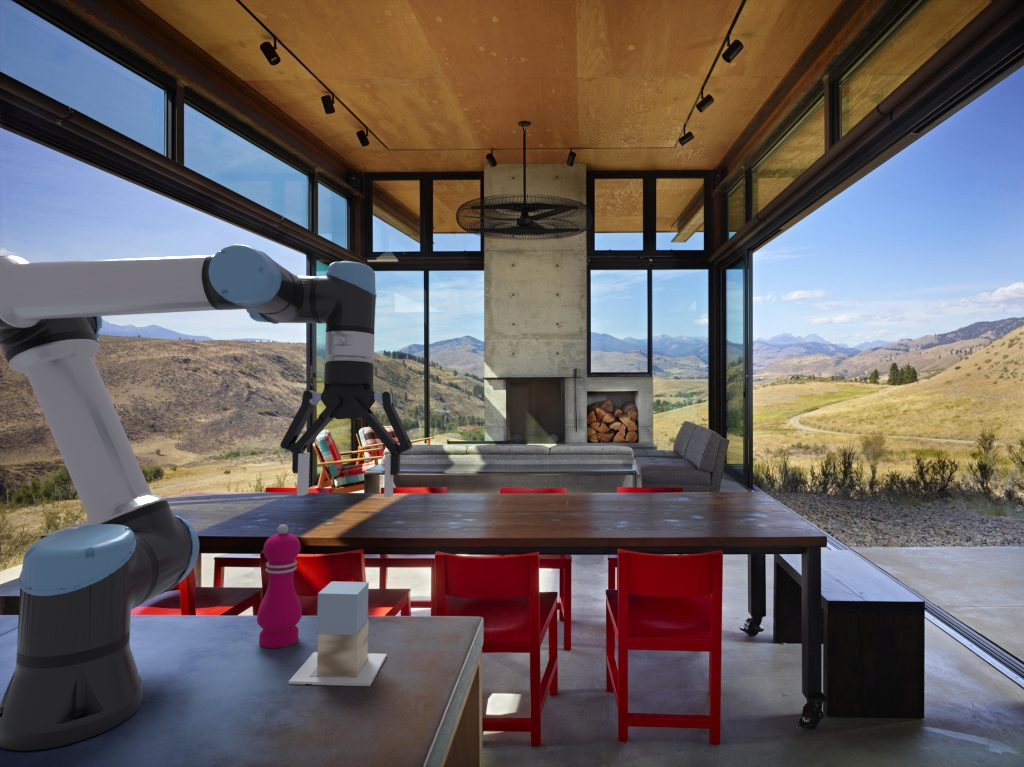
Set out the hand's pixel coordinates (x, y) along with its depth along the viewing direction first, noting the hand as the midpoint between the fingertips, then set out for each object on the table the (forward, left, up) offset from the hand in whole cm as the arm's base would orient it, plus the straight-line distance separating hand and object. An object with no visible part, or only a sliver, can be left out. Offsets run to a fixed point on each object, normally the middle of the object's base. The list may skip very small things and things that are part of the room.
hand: (345, 495), depth 88 cm
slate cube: (0, 0, -20) cm, 20 cm away
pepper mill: (-14, +10, -27) cm, 32 cm away
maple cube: (0, 0, -26) cm, 26 cm away
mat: (0, 0, -27) cm, 27 cm away
